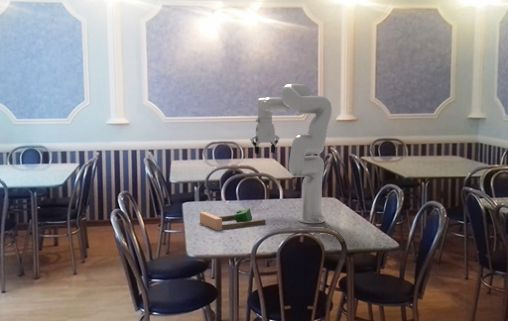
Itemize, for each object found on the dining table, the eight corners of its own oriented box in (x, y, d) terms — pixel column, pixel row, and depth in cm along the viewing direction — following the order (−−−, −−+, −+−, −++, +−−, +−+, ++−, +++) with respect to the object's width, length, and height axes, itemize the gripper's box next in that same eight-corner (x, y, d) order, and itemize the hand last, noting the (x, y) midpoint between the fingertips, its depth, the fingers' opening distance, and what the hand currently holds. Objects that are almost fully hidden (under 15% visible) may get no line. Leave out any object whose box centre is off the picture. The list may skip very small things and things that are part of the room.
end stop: (222, 229, 277) (222, 218, 276) (216, 230, 275) (216, 219, 275) (205, 222, 293) (205, 211, 292) (199, 222, 291) (199, 212, 291)
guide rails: (265, 224, 288) (265, 219, 288) (222, 229, 277) (222, 225, 277) (247, 217, 304) (247, 213, 303) (206, 221, 293) (206, 217, 292)
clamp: (241, 229, 296) (239, 211, 299) (253, 226, 295) (250, 209, 298) (234, 225, 285) (232, 206, 288) (247, 222, 284) (244, 203, 287)
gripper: (253, 122, 316) (254, 154, 318) (282, 121, 325) (282, 153, 326) (247, 121, 323) (247, 153, 325) (275, 120, 331) (275, 152, 333)
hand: (264, 153), depth 326 cm, fingers open, 9 cm apart
